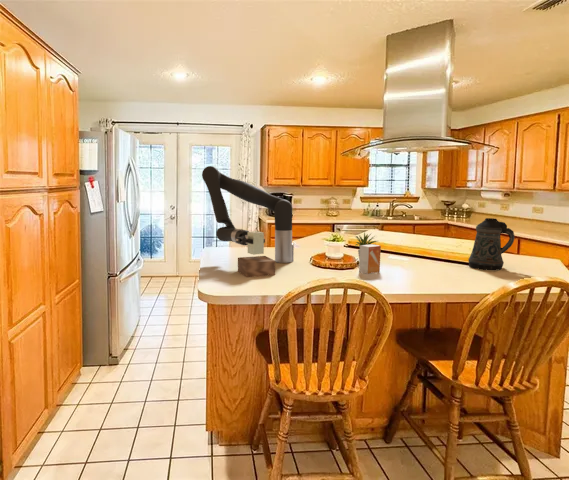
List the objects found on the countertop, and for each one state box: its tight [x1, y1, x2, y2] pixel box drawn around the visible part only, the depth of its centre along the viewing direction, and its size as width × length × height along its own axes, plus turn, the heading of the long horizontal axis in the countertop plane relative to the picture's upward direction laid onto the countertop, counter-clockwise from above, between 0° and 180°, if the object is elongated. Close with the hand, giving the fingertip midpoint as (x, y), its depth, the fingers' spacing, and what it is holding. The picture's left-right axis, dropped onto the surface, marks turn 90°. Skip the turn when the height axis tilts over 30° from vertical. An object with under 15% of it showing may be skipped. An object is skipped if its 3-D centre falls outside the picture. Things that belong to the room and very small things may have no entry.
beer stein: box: [467, 217, 516, 271], centre depth 229 cm, size 16×19×25 cm
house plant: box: [354, 232, 378, 260], centre depth 242 cm, size 14×14×16 cm
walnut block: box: [237, 255, 276, 278], centre depth 215 cm, size 14×14×7 cm
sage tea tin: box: [247, 231, 265, 256], centre depth 214 cm, size 6×6×10 cm
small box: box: [358, 243, 382, 275], centre depth 218 cm, size 8×6×13 cm
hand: (258, 241), depth 211 cm, fingers closed on sage tea tin, 5 cm apart
